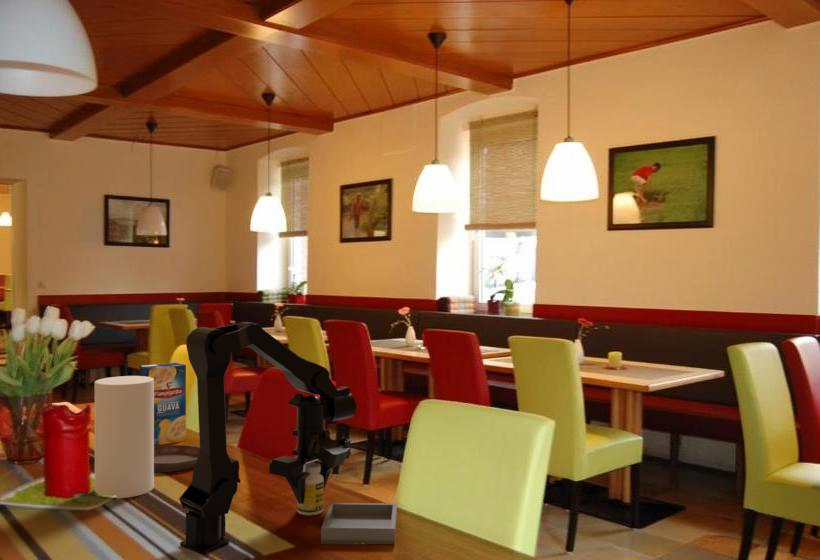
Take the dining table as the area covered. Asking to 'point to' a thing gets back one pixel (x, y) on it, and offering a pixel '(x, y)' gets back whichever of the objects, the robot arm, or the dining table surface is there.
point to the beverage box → (168, 401)
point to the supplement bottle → (312, 491)
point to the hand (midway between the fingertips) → (310, 499)
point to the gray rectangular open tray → (359, 523)
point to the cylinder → (124, 436)
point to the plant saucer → (175, 457)
